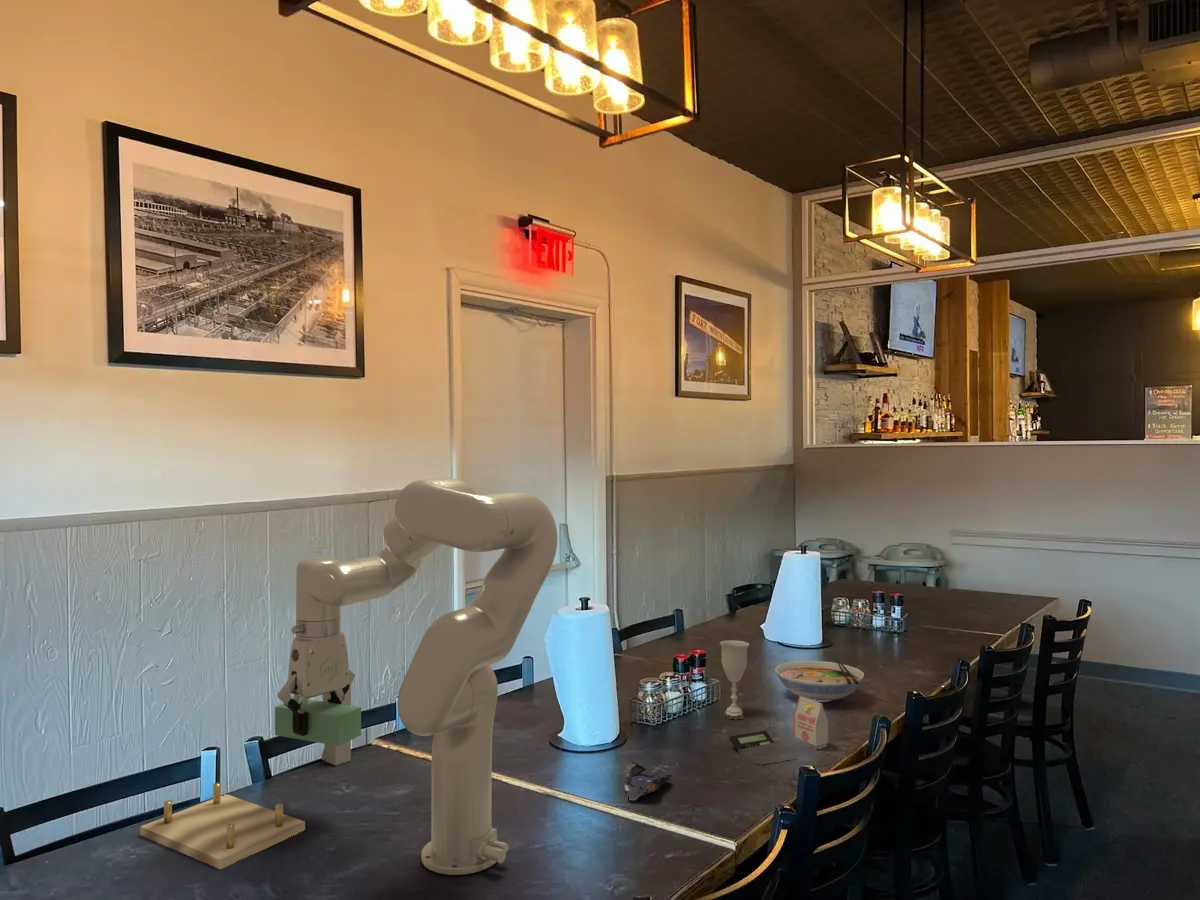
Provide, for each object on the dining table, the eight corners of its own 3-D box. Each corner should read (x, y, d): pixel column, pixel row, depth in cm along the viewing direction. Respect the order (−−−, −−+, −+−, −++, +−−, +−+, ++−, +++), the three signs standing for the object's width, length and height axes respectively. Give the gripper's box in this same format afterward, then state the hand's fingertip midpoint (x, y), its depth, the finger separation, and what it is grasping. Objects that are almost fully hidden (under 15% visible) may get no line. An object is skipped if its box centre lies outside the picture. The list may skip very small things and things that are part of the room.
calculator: (760, 767, 176) (760, 752, 176) (729, 749, 186) (729, 735, 186) (797, 760, 180) (797, 746, 180) (764, 743, 190) (764, 729, 190)
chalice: (753, 715, 209) (753, 642, 209) (742, 723, 203) (742, 648, 203) (725, 710, 213) (726, 639, 213) (714, 718, 207) (714, 644, 207)
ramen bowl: (771, 684, 237) (771, 655, 237) (856, 687, 234) (856, 658, 234) (778, 711, 212) (778, 678, 212) (872, 715, 209) (872, 682, 209)
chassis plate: (305, 830, 145) (305, 801, 145) (220, 869, 132) (220, 837, 132) (225, 802, 157) (225, 775, 157) (140, 835, 143) (140, 805, 143)
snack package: (599, 791, 164) (641, 808, 155) (602, 756, 164) (644, 772, 156) (643, 786, 171) (685, 802, 162) (646, 753, 172) (689, 767, 163)
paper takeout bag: (805, 738, 192) (805, 694, 192) (827, 747, 187) (828, 702, 187) (793, 741, 190) (793, 697, 190) (815, 750, 185) (816, 704, 185)
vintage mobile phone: (337, 756, 181) (337, 638, 181) (351, 761, 178) (351, 642, 178) (321, 761, 178) (321, 641, 178) (335, 766, 175) (335, 645, 175)
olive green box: (360, 735, 151) (361, 707, 151) (338, 746, 145) (338, 716, 145) (298, 725, 156) (299, 697, 156) (274, 735, 151) (275, 707, 151)
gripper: (290, 639, 141) (289, 746, 142) (370, 622, 156) (369, 719, 156) (262, 634, 146) (261, 738, 146) (342, 617, 160) (342, 712, 160)
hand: (317, 727), depth 151 cm, fingers closed on olive green box, 6 cm apart
